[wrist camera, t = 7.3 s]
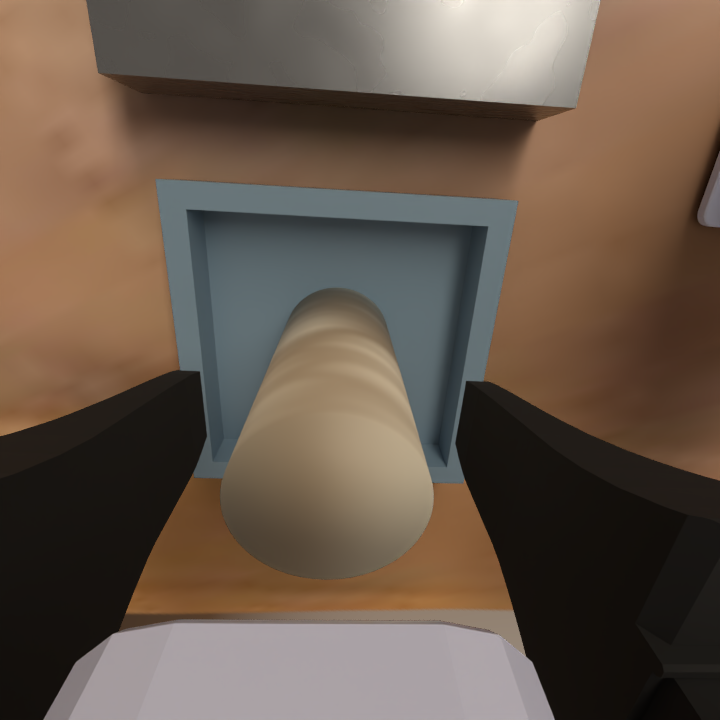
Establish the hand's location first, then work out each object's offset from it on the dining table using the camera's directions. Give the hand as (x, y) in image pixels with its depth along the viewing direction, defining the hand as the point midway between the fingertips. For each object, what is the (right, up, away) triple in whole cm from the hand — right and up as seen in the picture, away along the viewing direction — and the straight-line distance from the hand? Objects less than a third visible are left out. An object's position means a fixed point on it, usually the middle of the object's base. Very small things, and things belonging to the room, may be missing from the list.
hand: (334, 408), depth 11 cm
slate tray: (0, +2, +5) cm, 6 cm away
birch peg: (0, +2, +5) cm, 5 cm away
